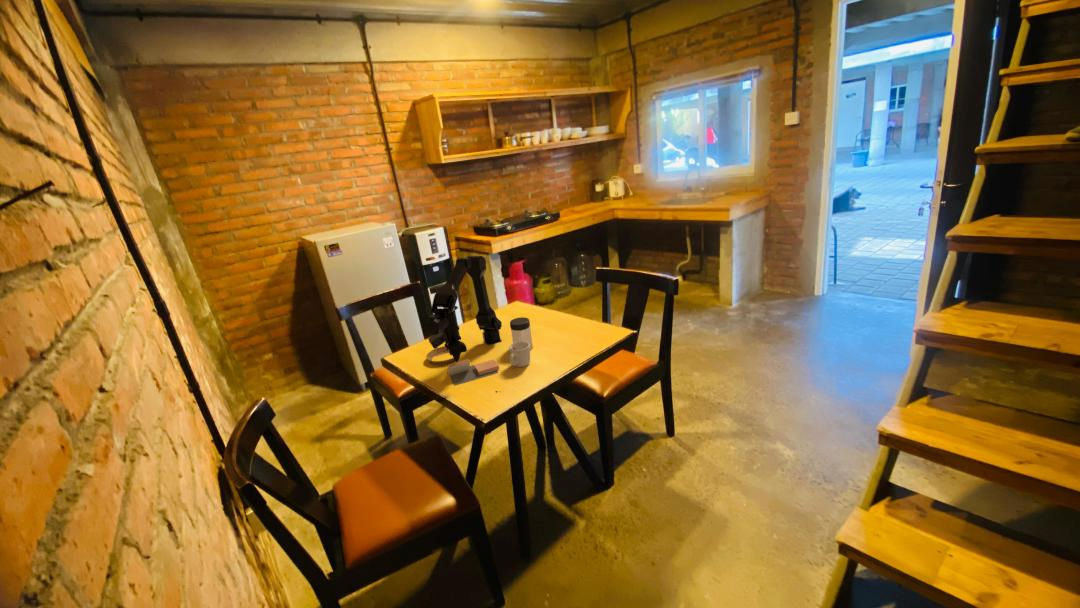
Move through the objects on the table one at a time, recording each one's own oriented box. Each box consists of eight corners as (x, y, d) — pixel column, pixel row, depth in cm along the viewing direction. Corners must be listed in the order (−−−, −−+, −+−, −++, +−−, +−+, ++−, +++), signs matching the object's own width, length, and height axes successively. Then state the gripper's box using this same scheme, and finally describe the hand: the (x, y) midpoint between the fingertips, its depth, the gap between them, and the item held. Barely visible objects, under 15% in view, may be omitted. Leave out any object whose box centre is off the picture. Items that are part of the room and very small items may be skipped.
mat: (489, 361, 181) (489, 360, 181) (498, 373, 171) (498, 372, 171) (447, 373, 176) (447, 372, 176) (454, 386, 165) (454, 385, 165)
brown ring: (427, 355, 194) (425, 349, 193) (461, 347, 197) (460, 342, 196) (428, 370, 180) (426, 364, 180) (465, 362, 184) (463, 356, 183)
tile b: (468, 366, 176) (468, 358, 171) (469, 370, 175) (470, 362, 170) (448, 372, 174) (447, 364, 168) (449, 376, 173) (449, 368, 168)
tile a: (493, 359, 178) (498, 365, 172) (494, 363, 179) (499, 369, 173) (473, 364, 176) (478, 371, 170) (474, 368, 176) (479, 375, 170)
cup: (521, 374, 168) (519, 354, 166) (503, 371, 172) (500, 352, 170) (535, 361, 177) (533, 342, 174) (518, 358, 181) (516, 340, 178)
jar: (509, 350, 189) (505, 324, 184) (517, 342, 195) (514, 316, 191) (528, 352, 185) (525, 325, 181) (536, 344, 192) (533, 317, 188)
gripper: (423, 321, 174) (431, 358, 179) (432, 337, 157) (440, 377, 162) (452, 315, 177) (459, 351, 183) (463, 330, 161) (470, 369, 166)
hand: (456, 361), depth 173 cm, fingers closed
